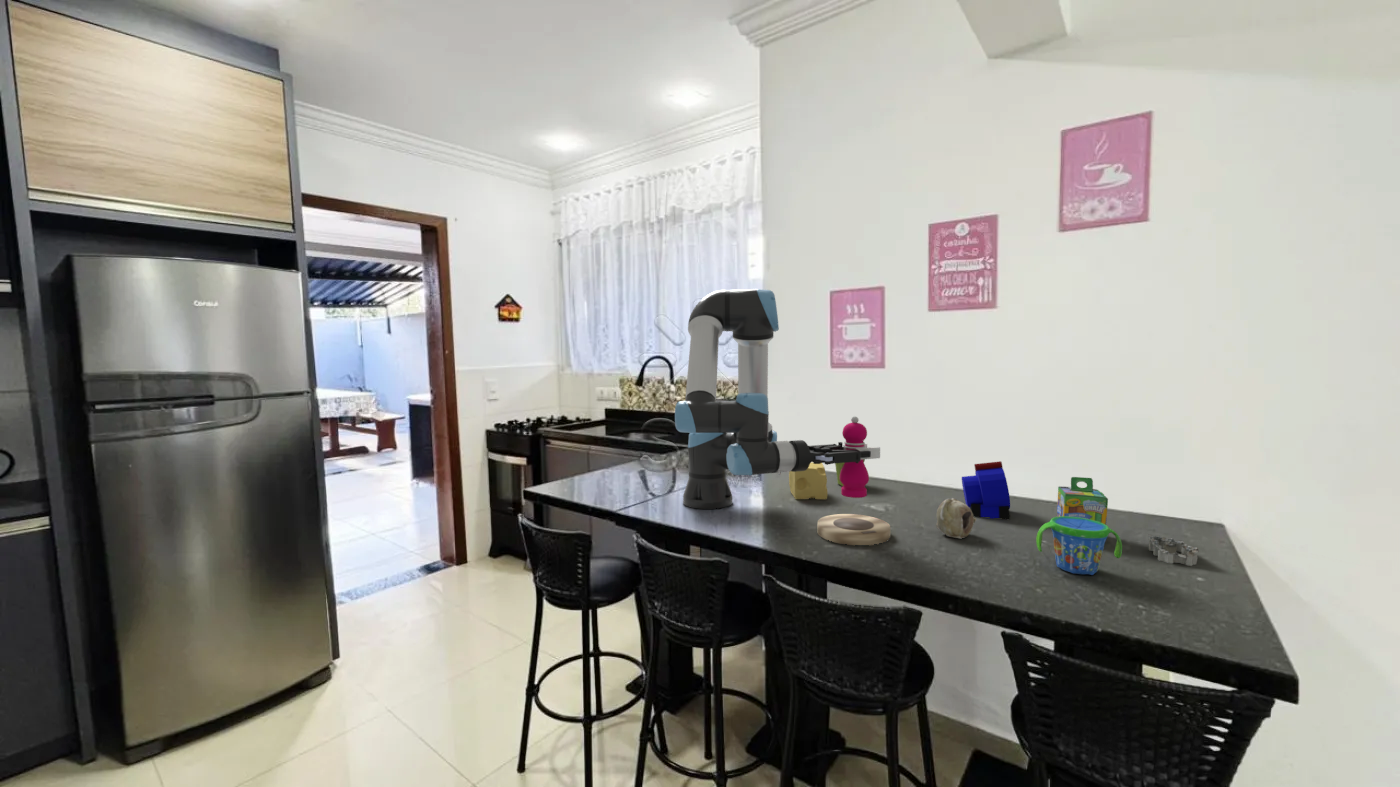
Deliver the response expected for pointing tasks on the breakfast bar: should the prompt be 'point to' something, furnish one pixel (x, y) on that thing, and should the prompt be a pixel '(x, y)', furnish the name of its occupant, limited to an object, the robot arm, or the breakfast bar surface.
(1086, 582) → the breakfast bar surface
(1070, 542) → the snack cup
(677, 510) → the breakfast bar surface
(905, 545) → the breakfast bar surface
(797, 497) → the cheese
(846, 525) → the oak base
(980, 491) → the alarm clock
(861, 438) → the pepper mill
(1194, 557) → the egg carton
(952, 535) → the sea shell
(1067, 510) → the chalk box
